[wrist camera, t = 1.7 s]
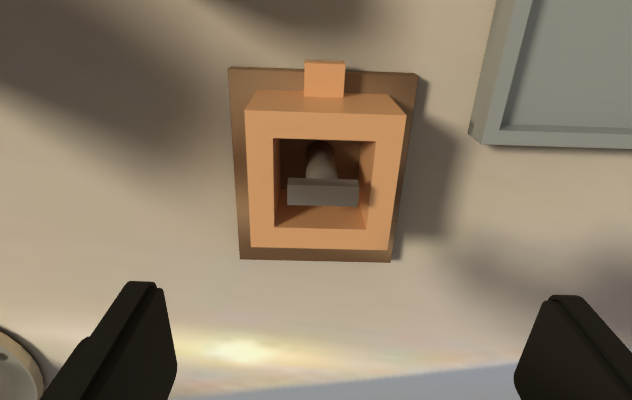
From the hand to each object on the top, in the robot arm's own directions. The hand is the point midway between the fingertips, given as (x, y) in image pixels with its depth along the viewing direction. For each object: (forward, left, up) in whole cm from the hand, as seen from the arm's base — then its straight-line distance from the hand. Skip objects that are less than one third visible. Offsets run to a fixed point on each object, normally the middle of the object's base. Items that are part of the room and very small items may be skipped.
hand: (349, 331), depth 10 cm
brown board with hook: (-2, 0, -15) cm, 15 cm away
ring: (0, 0, -14) cm, 14 cm away
